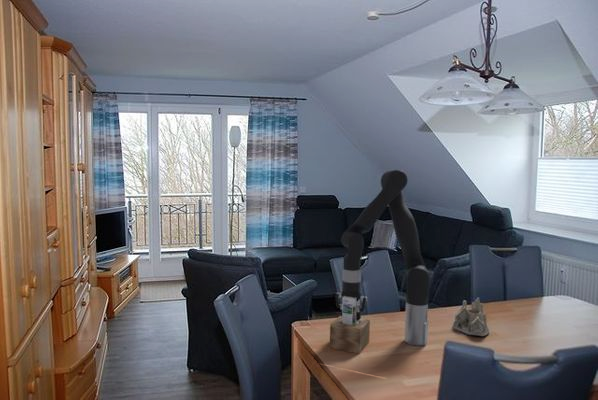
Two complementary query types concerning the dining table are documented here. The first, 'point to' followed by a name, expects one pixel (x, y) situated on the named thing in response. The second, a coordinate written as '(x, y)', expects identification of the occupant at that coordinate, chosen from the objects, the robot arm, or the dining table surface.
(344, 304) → the syrup box
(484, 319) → the ceramic cottage
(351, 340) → the box
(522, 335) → the dining table surface
